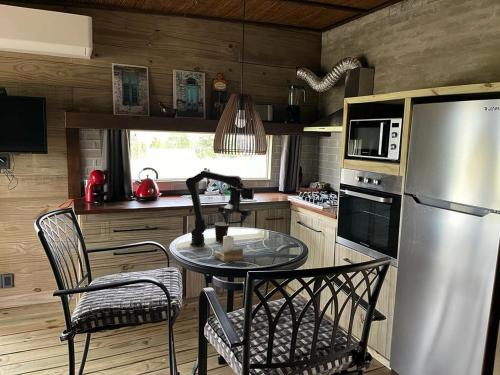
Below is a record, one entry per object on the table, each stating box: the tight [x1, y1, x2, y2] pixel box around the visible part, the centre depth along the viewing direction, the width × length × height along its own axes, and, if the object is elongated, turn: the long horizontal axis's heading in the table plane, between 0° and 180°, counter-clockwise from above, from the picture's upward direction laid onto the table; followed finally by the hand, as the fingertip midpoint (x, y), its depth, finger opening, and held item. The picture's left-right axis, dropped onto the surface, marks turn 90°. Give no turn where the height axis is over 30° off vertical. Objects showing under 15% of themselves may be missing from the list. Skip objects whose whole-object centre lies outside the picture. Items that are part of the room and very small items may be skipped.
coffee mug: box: [214, 222, 230, 243], centre depth 233 cm, size 12×9×10 cm
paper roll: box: [222, 235, 235, 254], centre depth 201 cm, size 5×5×11 cm
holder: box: [213, 248, 244, 263], centre depth 202 cm, size 10×11×5 cm
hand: (233, 225), depth 218 cm, fingers open, 9 cm apart
